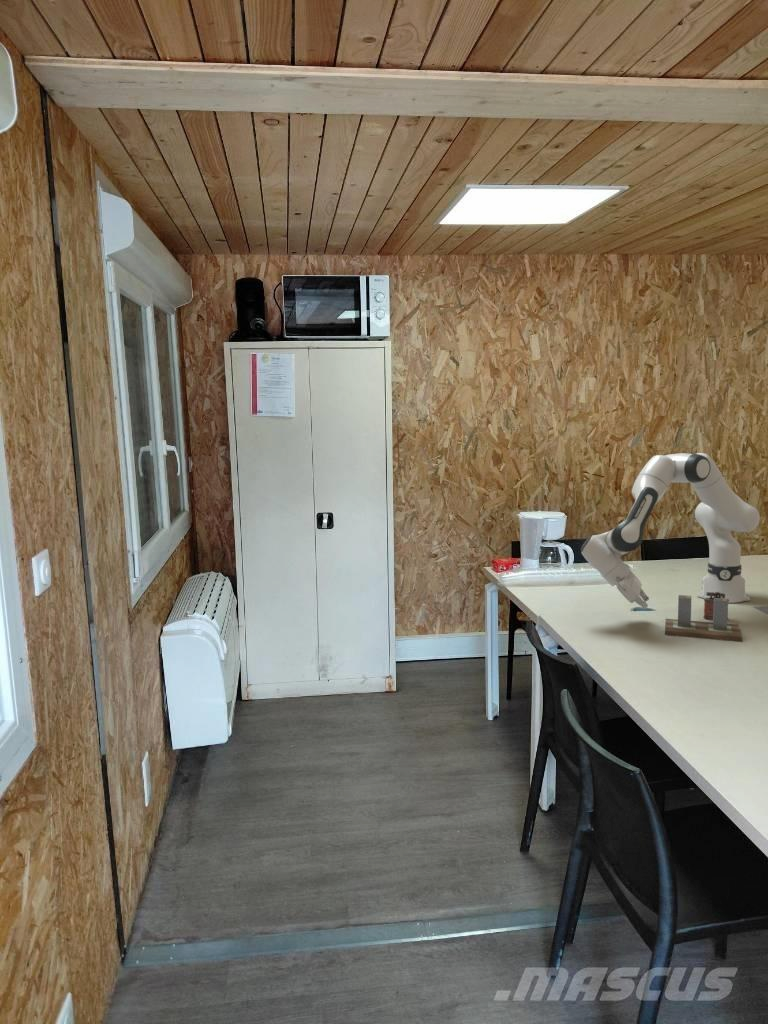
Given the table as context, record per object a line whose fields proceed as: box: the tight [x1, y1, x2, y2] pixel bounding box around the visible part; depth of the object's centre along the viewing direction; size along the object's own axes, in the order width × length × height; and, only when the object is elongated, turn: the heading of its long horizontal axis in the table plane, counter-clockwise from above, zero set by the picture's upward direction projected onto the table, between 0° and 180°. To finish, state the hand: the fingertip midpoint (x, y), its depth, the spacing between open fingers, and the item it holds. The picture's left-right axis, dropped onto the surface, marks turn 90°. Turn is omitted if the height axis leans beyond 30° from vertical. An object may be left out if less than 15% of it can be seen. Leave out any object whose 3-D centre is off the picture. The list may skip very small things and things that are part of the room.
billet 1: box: [677, 594, 692, 627], centre depth 227 cm, size 4×4×10 cm
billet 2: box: [712, 598, 729, 631], centre depth 222 cm, size 4×4×10 cm
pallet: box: [664, 618, 743, 642], centre depth 225 cm, size 14×23×2 cm, turn 66°
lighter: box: [703, 592, 729, 621], centre depth 238 cm, size 8×3×10 cm, turn 74°
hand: (647, 603), depth 231 cm, fingers open, 8 cm apart
